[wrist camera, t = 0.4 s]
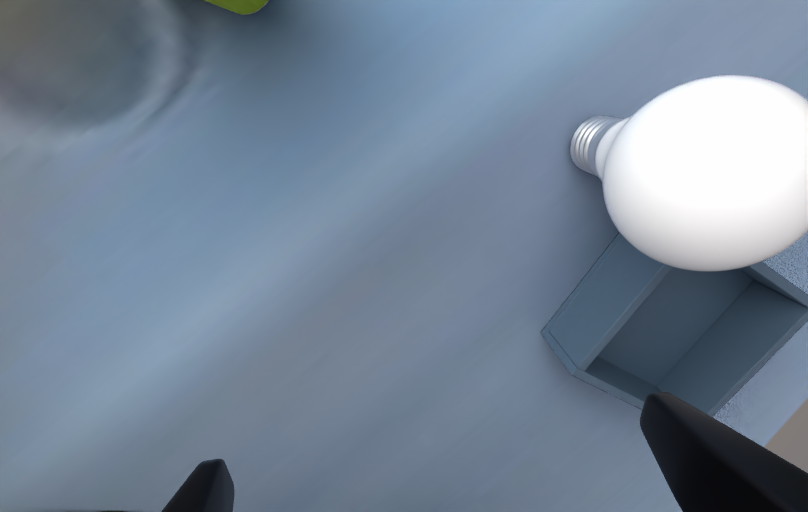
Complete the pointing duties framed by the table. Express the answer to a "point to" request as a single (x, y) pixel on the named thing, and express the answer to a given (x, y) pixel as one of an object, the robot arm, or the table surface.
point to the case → (673, 327)
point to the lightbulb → (705, 172)
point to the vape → (240, 5)
